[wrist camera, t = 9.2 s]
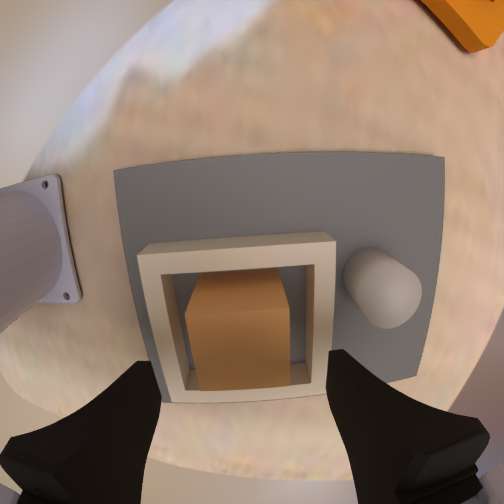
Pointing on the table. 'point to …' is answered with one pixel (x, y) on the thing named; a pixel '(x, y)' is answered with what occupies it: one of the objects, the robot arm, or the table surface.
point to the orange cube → (240, 330)
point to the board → (289, 256)
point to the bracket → (471, 20)
